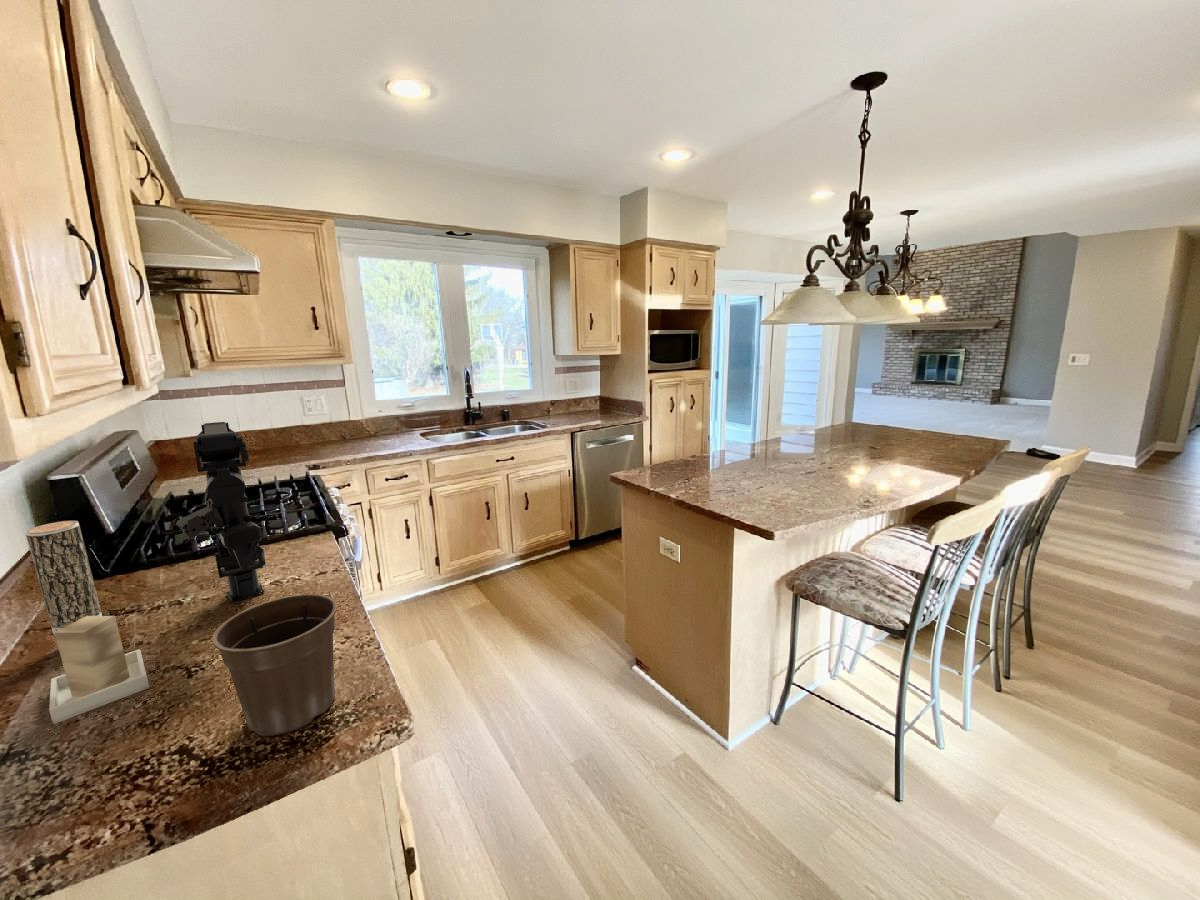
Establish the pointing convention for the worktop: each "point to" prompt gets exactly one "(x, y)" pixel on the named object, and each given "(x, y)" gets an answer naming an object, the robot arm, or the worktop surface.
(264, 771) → the worktop surface
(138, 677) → the tray
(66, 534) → the bark-printed cylinder
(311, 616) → the plant pot
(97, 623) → the beech block
